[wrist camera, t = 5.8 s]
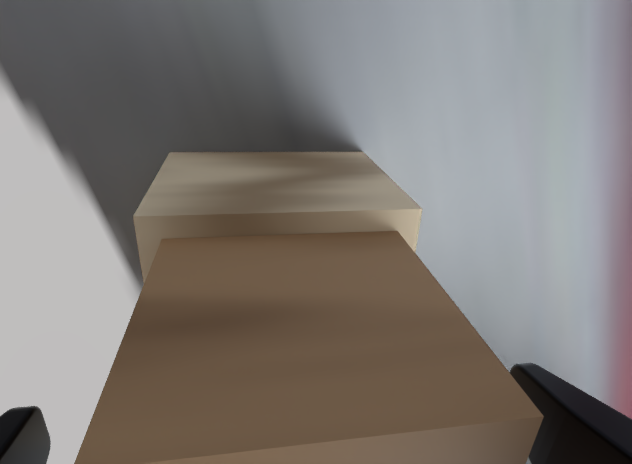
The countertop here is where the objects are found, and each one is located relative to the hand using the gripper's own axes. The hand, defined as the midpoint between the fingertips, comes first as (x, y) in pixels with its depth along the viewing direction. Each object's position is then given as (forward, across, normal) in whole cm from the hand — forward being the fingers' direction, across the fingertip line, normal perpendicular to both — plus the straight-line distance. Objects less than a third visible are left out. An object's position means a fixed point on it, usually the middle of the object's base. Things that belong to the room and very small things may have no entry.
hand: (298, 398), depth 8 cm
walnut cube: (+2, 0, 0) cm, 2 cm away
